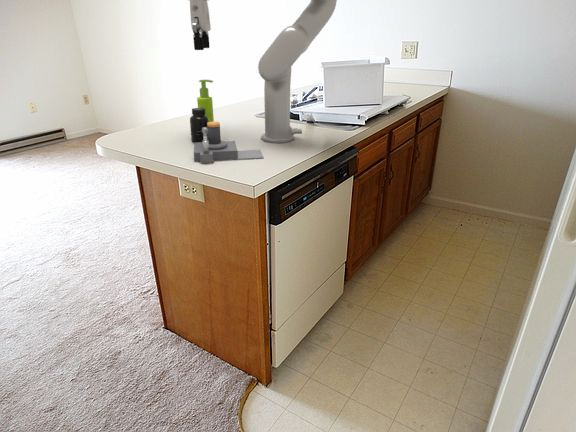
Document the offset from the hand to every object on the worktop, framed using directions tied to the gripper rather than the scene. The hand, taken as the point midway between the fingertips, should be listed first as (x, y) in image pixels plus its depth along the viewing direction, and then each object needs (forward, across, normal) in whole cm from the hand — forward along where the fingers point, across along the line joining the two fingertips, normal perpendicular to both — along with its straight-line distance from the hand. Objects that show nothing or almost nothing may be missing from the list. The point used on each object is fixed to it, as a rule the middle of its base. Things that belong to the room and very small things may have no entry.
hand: (202, 49), depth 150 cm
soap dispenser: (+32, +8, +2) cm, 33 cm away
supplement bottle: (+32, -8, +2) cm, 33 cm away
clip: (+28, -28, -5) cm, 40 cm away
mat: (+32, -25, -19) cm, 45 cm away
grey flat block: (+32, -27, -8) cm, 42 cm away
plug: (+32, -26, -8) cm, 42 cm away
